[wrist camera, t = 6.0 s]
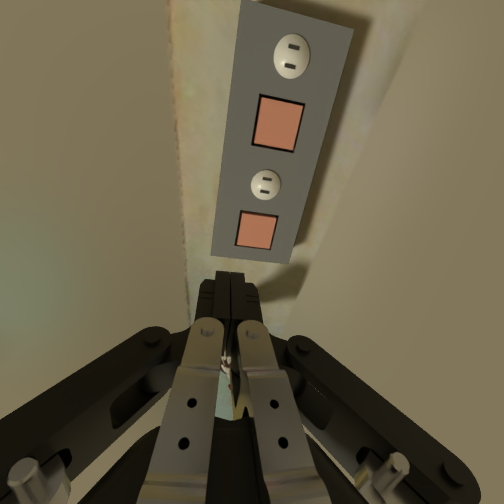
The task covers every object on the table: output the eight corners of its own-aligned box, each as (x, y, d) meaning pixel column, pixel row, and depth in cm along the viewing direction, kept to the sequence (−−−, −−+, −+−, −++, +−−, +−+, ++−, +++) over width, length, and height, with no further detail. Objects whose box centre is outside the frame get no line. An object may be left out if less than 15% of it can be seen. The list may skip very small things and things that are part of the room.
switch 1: (241, 206, 31) (242, 213, 29) (273, 211, 32) (276, 218, 30) (236, 236, 33) (237, 244, 31) (266, 240, 34) (269, 248, 32)
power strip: (239, 13, 24) (241, -4, 21) (338, 40, 25) (355, 28, 22) (211, 243, 35) (210, 256, 31) (283, 251, 36) (288, 265, 33)
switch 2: (259, 99, 26) (262, 97, 24) (296, 107, 27) (302, 106, 25) (252, 141, 28) (254, 143, 26) (287, 147, 29) (292, 150, 26)
